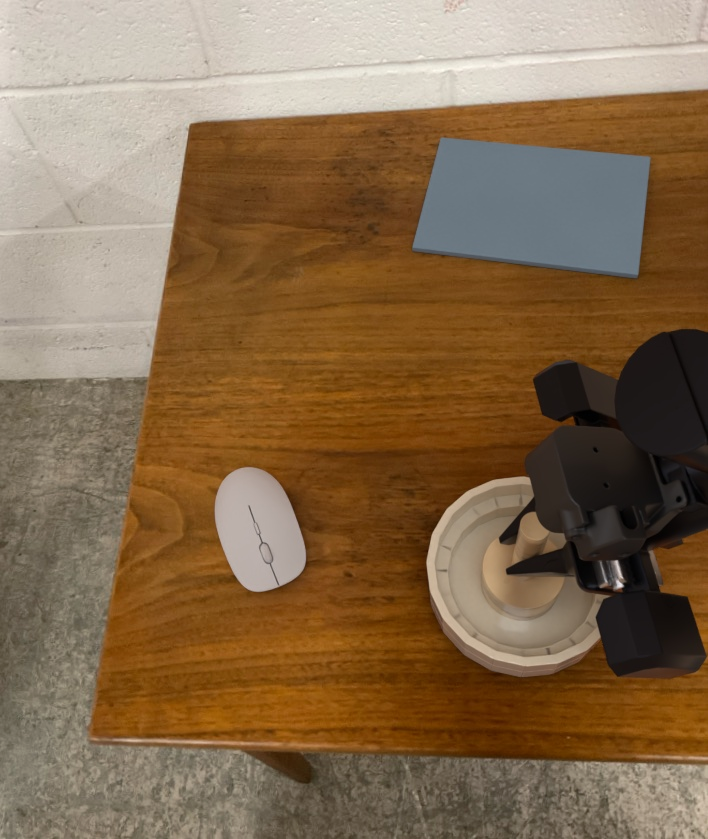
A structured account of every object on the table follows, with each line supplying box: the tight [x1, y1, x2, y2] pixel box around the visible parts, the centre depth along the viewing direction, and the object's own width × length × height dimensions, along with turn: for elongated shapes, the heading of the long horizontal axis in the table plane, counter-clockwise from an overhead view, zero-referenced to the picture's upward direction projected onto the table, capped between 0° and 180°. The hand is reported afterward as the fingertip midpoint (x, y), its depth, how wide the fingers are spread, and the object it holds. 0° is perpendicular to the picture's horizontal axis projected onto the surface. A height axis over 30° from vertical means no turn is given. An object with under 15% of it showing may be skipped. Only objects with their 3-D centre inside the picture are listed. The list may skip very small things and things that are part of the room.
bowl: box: [425, 476, 610, 678], centre depth 57 cm, size 13×13×4 cm
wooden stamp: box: [481, 512, 565, 621], centre depth 53 cm, size 6×6×12 cm
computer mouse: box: [214, 466, 307, 593], centre depth 61 cm, size 6×10×3 cm, turn 21°
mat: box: [411, 136, 652, 279], centre depth 75 cm, size 20×14×1 cm
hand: (506, 557), depth 52 cm, fingers closed on wooden stamp
